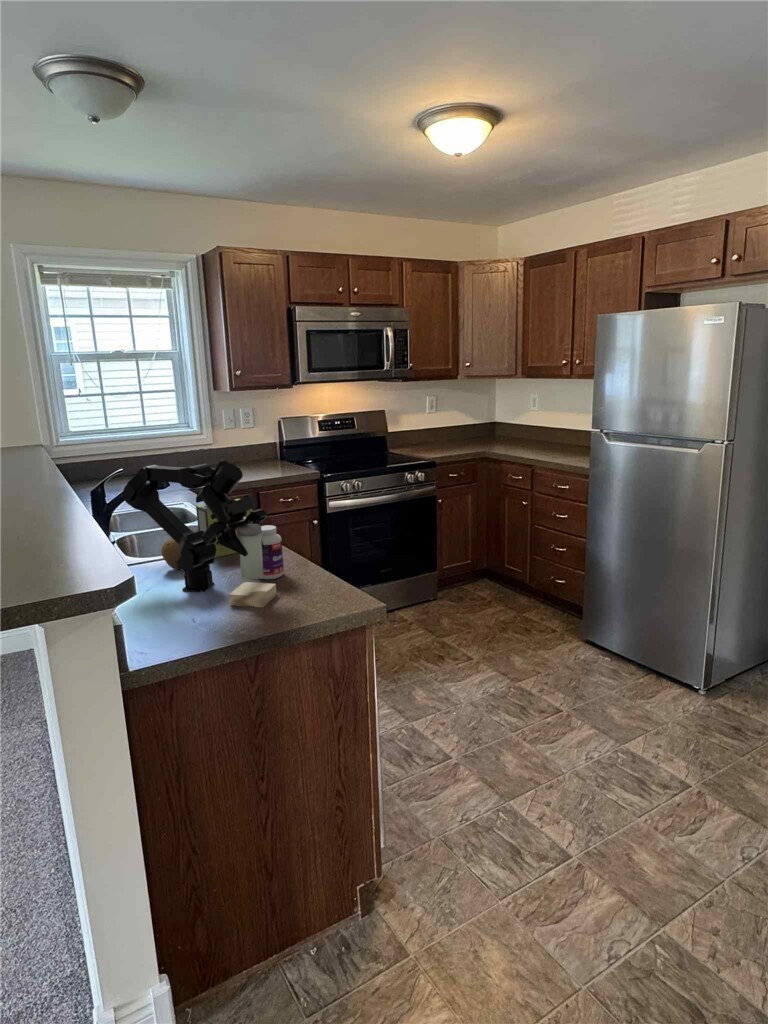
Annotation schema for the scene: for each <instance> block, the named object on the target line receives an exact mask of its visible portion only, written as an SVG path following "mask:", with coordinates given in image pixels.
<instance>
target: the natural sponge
mask: <svg viewBox="0 0 768 1024" xmlns="http://www.w3.org/2000/svg"><path fill="white" fill-rule="evenodd" d="M160 554H161V556H162V558H163V560H164V561H165V562H166V564H167V566H169V567H170V568H172V569H173V570H177V571H180V570H179V568H178V566H177V561H178V560H179V558H180V557H181V556H182V555H181V554H180V550H179V544H178V543H177V542H176V541H175V540H174V539H173V538H172V537H170V538H169V539H167V540H166V541H165V542H164V543H163V544H162V547H161V553H160Z"/></svg>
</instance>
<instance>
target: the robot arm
mask: <svg viewBox="0 0 768 1024" xmlns="http://www.w3.org/2000/svg"><path fill="white" fill-rule="evenodd" d="M243 475H244V473H243V471H242V470H241V468H240V467H238V465H237V466H236V465H235V464H233V463H231V462H228V460H226V459H224V460H220V461H219V462H218V464H217V466H216V467H215V468H212V467H211V465H210V464H208V463H202V464H197V465H192V466H191V465H190V466H186V467H182V466H167V465H158V464H152V465H147V466H142V467H141V468H139V470H138V472H137V474H135V475H134V476H133V477H132V478H131V479H130V480H129V481H128V482H127V484H126V485H125V486H124V488H123V491H122V498H123V500H124V502H125V503H126V504H128V505H129V506H130V507H131V508H133V509H135V510H137V511H141V512H144V513H146V514H147V515H148V516H149V517H150V518H151V519H152V520H153V521H155V523H156V524H157V525H158V526H159V527H161V529H163V531H164V532H165V533H166V534H168V535H169V536H170V538H173V539H174V540H175V541H176V542H177V543H178V544H179V550H180V554H181V555H182V556H181V557H180V558H179V560H178V561H177V566H178V568H179V570H178V571H183V576H184V585H185V587H183V588H182V591H183V592H197V593H198V592H200V593H204V592H206V591H207V590H208V589H209V588H211V587H212V586H214V585H215V582H214V581H213V573H212V572H213V571H212V570H211V567H210V566H211V564H214V563H215V558H216V557H215V554H216V546H215V544H214V543H215V542H216V537H217V539H218V541H217V543H216V544H217V545H219V544H220V545H222V546H225V547H227V548H229V549H231V550H233V551H235V552H237V553H236V554H239V555H240V554H241V555H243V556H247V555H248V553H247V551H246V549H245V548H244V546H243V545H242V543H241V542H240V540H239V539H238V537H237V536H236V531H235V530H236V529H237V527H238V526H240V525H244V524H259V525H261V524H263V522H264V521H265V520H266V519H267V517H268V513H267V512H266V511H265V510H264V509H262V508H258V509H256V506H255V505H257V504H258V501H257V498H256V497H255V495H253V493H252V492H250V493H246V495H243V497H242V498H239V499H240V500H237V501H236V500H234V499H235V498H233V499H230V497H229V496H228V495H227V494H231V492H233V490H235V487H236V486H237V485H238V484H239V482H240V481H241V480H242V479H243ZM160 482H164V483H173V484H174V483H177V484H180V485H181V487H183V488H186V489H188V490H189V489H190V490H195V489H198V488H202V489H201V490H200V491H197V492H196V497H195V502H196V503H202V502H204V504H206V506H207V507H208V508H209V510H210V511H211V512H212V515H211V516H210V517H211V518H212V519H217V521H218V522H216V523H213V524H210V526H209V527H208V528H207V529H206V531H205V532H204V531H202V530H201V531H199V530H198V531H196V532H194V531H192V529H190V528H189V527H188V526H187V524H185V523H184V522H183V521H182V520H181V519H180V518H179V517H178V516H177V515H176V514H174V513H173V511H172V510H170V509H169V508H168V507H167V506H166V504H164V503H163V502H162V501H161V499H160V494H159V491H158V489H159V488H160V485H161V484H160ZM250 509H252V511H251V512H250V514H249V515H248V516H247V517H246V518H245V519H244V518H243V517H244V516H245V515H246V514H247V512H246V511H248V510H250ZM254 509H255V510H254ZM215 536H216V537H215ZM261 542H262V539H261ZM263 548H264V545H263V542H262V550H263Z"/></svg>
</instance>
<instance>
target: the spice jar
mask: <svg viewBox="0 0 768 1024" xmlns="http://www.w3.org/2000/svg"><path fill="white" fill-rule="evenodd" d="M261 526H262V525H261V524H260V525H259V524H244V525H240V526H238V527H237V534H238V538H239V540H240V542H241V543H242V545H243V546H244V548H245V549H246V551H247V553H248V555H247V556H243V555H241V554H239V564H240V576H241V579H244V580H249V581H250V580H257V579H260V578H261V577H263V575H264V574H263V558H262V542H261V532H262V530H261Z"/></svg>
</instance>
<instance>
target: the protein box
mask: <svg viewBox="0 0 768 1024" xmlns="http://www.w3.org/2000/svg"><path fill="white" fill-rule="evenodd" d="M233 499H234V500H236V501H237V500H240V499H241V498H236V499H235V498H233ZM195 510H196V519H197V529H198V531H201V530H202V531H204V532H205V531H206V529H207V528H208V527H209V526H210V524H213V523H216V522H218V521H217V519H212V518H211V517H210V516H211V515H212V512H211V511H210V510H209V508H208V507H207V506H206V504H205V503H204V504H198V505H196V506H195ZM251 511H253V509H250V510H248V511H246V512H247V514H246V515H245V516H244V517H243V518H246V517H247V516H248V515H249V514H250V512H251ZM235 531H236V530H235ZM236 536H237V531H236ZM215 537H216V536H215ZM217 541H218V539H217V537H216V542H215V543H214V544H215V546H216V554H215V558H218V557H222V556H228V555H229V556H230V555H232V554H233V555H234V554H238V553H237V552H235V551H233V550H231V549H229V548H227V547H225V546H222V545H220V544H219V545H217V544H216V543H217Z"/></svg>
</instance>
